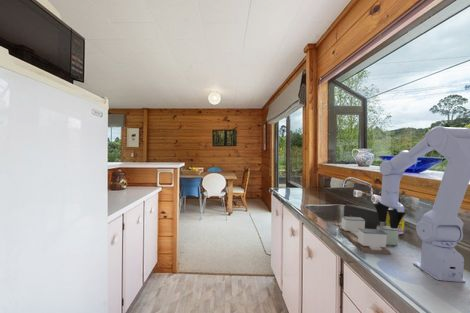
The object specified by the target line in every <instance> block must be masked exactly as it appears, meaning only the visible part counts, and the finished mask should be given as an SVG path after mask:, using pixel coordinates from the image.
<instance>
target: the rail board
mask: <svg viewBox="0 0 470 313" xmlns="http://www.w3.org/2000/svg"><path fill="white" fill-rule="evenodd" d="M339 230H340V231H341V232H342V233H341V232H340V231H339ZM338 231H339V232H340V233H341V234H342V235H343V236H345V237H346V238H347V239H348V240H349V241H350V242H352V243H353V244H354V246H356V247H357V248H358V249H359V250H360V251H362V252H363V253H367V254H368V253H370V254H379V255H380V254H381V255H390V252H391V250H390V249H388V248H387V247H376V246H363V245H362V244H361V243H359V242H358V231H345V230H344V229H343V228H342V227H340V226H339V227H338Z"/></svg>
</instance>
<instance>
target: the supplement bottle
mask: <svg viewBox="0 0 470 313" xmlns="http://www.w3.org/2000/svg"><path fill="white" fill-rule="evenodd" d="M401 206H403V207H404V205H403V204H402V203H401ZM388 210H393V209H392V208H389V209H388ZM405 219H406V214H405V215H404V216H403V218H402V219H401V221H400V223H399V225H398V228H397V229H398V230H399V233H398V235H403V234H404V231H405V230H404V229H405ZM385 226H390V217H389V213H388V212H387V216H386V221H385Z"/></svg>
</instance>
